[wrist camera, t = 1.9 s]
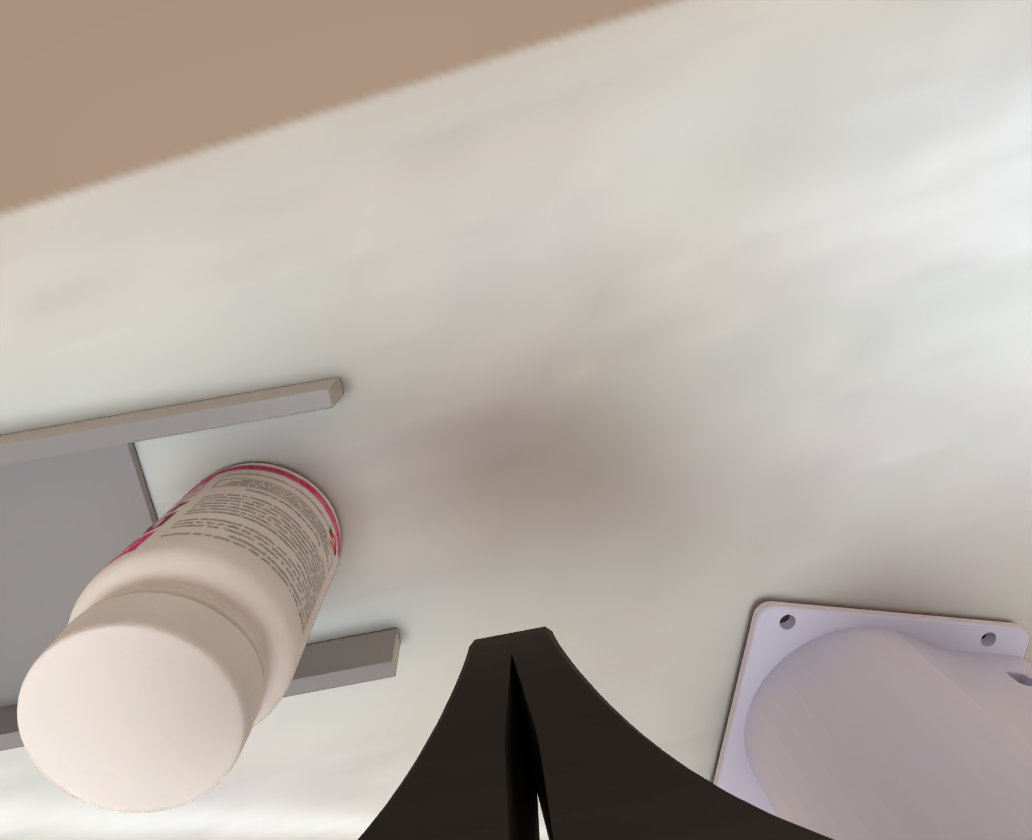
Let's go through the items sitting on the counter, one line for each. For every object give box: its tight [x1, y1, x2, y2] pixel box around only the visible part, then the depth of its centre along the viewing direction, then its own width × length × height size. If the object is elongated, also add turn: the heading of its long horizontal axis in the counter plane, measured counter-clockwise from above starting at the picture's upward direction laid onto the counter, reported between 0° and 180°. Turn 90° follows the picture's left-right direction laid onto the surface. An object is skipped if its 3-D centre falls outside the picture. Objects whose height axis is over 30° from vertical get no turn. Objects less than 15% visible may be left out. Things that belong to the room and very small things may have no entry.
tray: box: [0, 377, 401, 751], centre depth 20 cm, size 15×9×2 cm, turn 99°
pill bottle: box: [17, 463, 341, 813], centre depth 16 cm, size 5×5×8 cm
